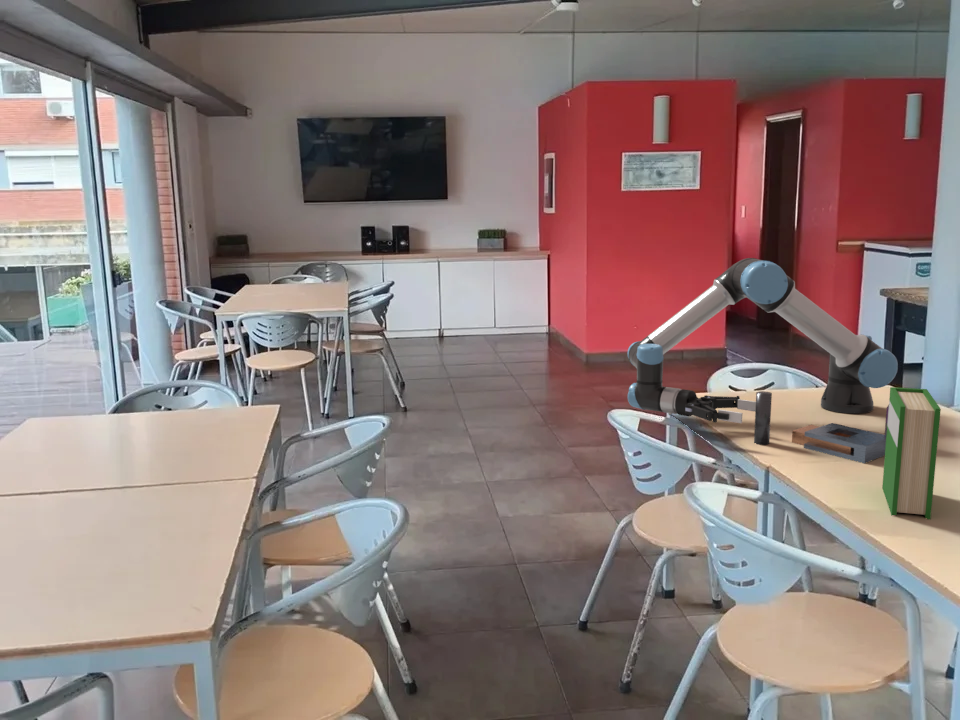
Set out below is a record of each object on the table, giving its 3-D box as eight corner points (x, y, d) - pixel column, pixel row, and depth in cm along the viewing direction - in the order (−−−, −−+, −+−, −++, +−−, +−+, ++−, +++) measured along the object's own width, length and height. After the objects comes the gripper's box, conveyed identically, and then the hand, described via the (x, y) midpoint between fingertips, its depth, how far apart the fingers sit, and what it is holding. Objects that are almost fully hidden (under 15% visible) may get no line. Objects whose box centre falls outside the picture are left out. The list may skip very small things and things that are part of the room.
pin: (759, 439, 235) (762, 390, 232) (772, 442, 232) (774, 393, 229) (750, 442, 233) (753, 392, 230) (763, 445, 230) (765, 395, 227)
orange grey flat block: (787, 443, 231) (788, 427, 230) (814, 434, 239) (815, 419, 238) (864, 463, 214) (865, 446, 213) (891, 453, 221) (892, 436, 220)
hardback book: (930, 519, 178) (940, 408, 173) (891, 515, 181) (900, 406, 176) (917, 490, 194) (926, 389, 190) (882, 487, 197) (890, 387, 192)
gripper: (697, 405, 256) (767, 415, 243) (659, 424, 236) (732, 436, 223) (698, 381, 254) (768, 390, 241) (660, 398, 235) (733, 409, 222)
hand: (751, 412), depth 232 cm, fingers open, 13 cm apart
